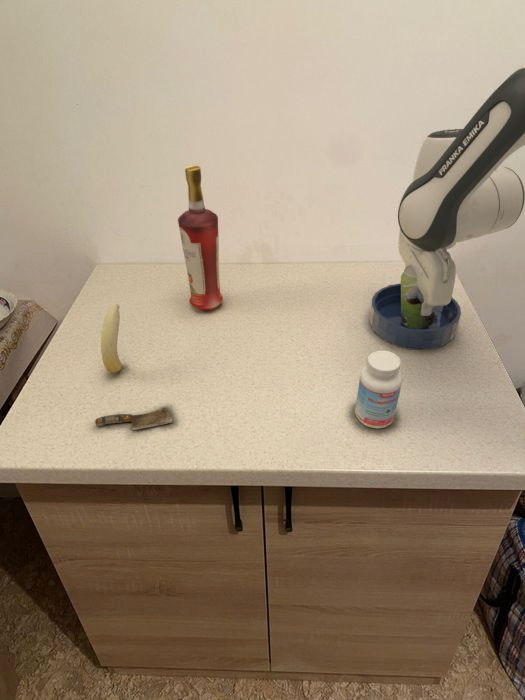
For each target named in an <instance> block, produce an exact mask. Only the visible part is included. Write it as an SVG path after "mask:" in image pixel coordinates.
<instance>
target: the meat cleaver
mask: <svg viewBox="0 0 525 700" xmlns="http://www.w3.org/2000/svg"><path fill="white" fill-rule="evenodd" d="M94 422H95V426H97V427H101V426H105V425H108V424H119V423H131V427H132V431H136V430H142V429H147V428H152V427H157V426H162V425H167V424H172V423H173V422H174V419H173V417H172V415H171V412H170V411H169V408H168V407H167V406H165V407H162V408H159V409H157V410H154V411H151V412H148V413H142V414H131V413H129V414H127V413H117V414H110V415H105V416H100V417H97V418H95V421H94Z"/></svg>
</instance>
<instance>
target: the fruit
mask: <svg viewBox="0 0 525 700" xmlns="http://www.w3.org/2000/svg"><path fill="white" fill-rule="evenodd" d="M120 317H121V315H120V305H119V304H118V303H115V304H114V305H111V306H110V307H109V308H108V310H107V311H106V314H105V317H104V319H103V324H102V329H101V335H100V353H101V354H100V355H101V360H102V363H103V366H104V369H106V371H108V372H109V373H114V374H115V373H118V372H120V371H121V370H122V361H121V359H120V357H119V353H118V338H119V329H120V321H121V320H120V319H121V318H120Z"/></svg>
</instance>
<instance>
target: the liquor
mask: <svg viewBox="0 0 525 700" xmlns="http://www.w3.org/2000/svg"><path fill="white" fill-rule="evenodd" d="M184 173H185V180H186V183H187V186H188V187H187V191H188V210H186V211H184V212H183V213H182V214H181V215H180V216H178V218H177V223H178V230H179V234H180V241H181V247H182V252H183V256H184V261H185V262H184V263H185V267H186V273H187V278H188V284H189V293H190V297H189V300H188V301H189V304H190V305H191V306H192V307H194V308H196V309H197V310H200V311H202V312H203V311H204V312H208V311H212V310H215V309H216V308H217V307H218V306H219V305H221V303H222V302H223V300H224V297H223V295H222V293H221V280H220V279H221V277H220V241H219V236H220V235H219V216H218V215H217V213H215V212H213V210H211V209H208V208H206V207H205V201H204V195H203V190H202V170H201V166H200V165H199V166H198V165H190V166H189V165H188V166H186V167H185V168H184Z"/></svg>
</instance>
